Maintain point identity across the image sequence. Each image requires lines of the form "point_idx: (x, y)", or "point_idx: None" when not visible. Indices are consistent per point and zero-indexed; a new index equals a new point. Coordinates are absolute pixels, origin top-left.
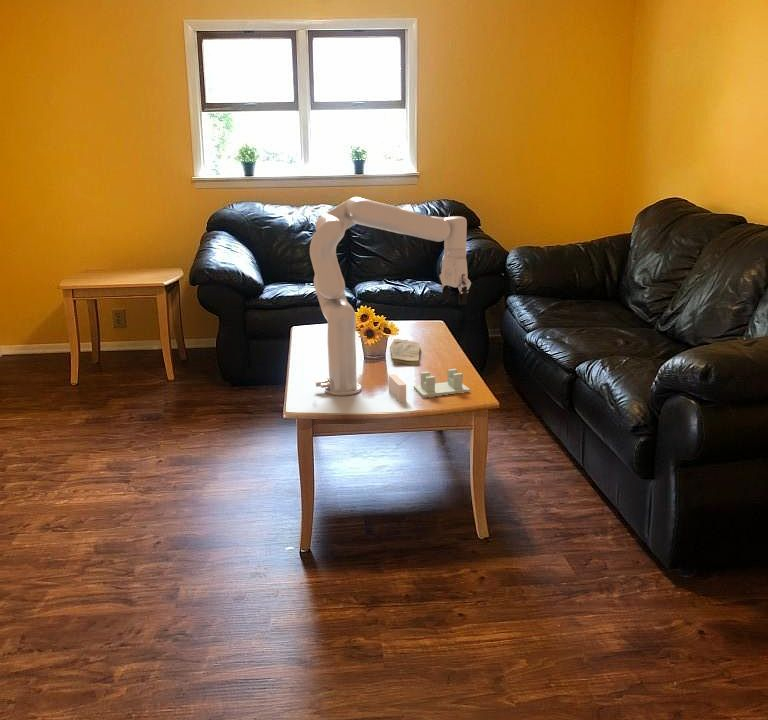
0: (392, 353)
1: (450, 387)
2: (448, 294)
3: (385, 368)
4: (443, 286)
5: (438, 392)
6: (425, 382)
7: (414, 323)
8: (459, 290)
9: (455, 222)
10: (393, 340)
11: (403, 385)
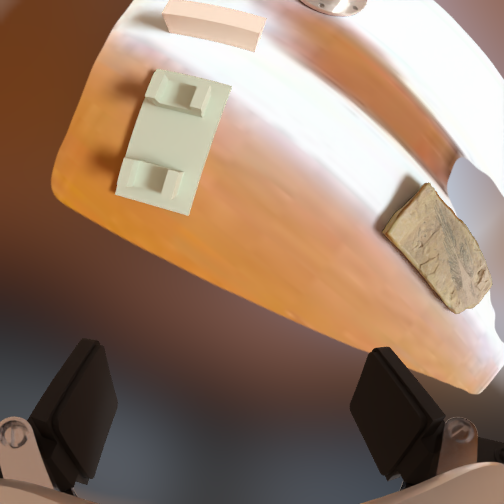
0: (453, 217)
1: (154, 159)
2: (371, 420)
3: (408, 149)
4: (449, 443)
5: (144, 109)
6: (176, 84)
7: (498, 364)
8: (34, 458)
9: None
10: (489, 273)
11: (165, 8)
